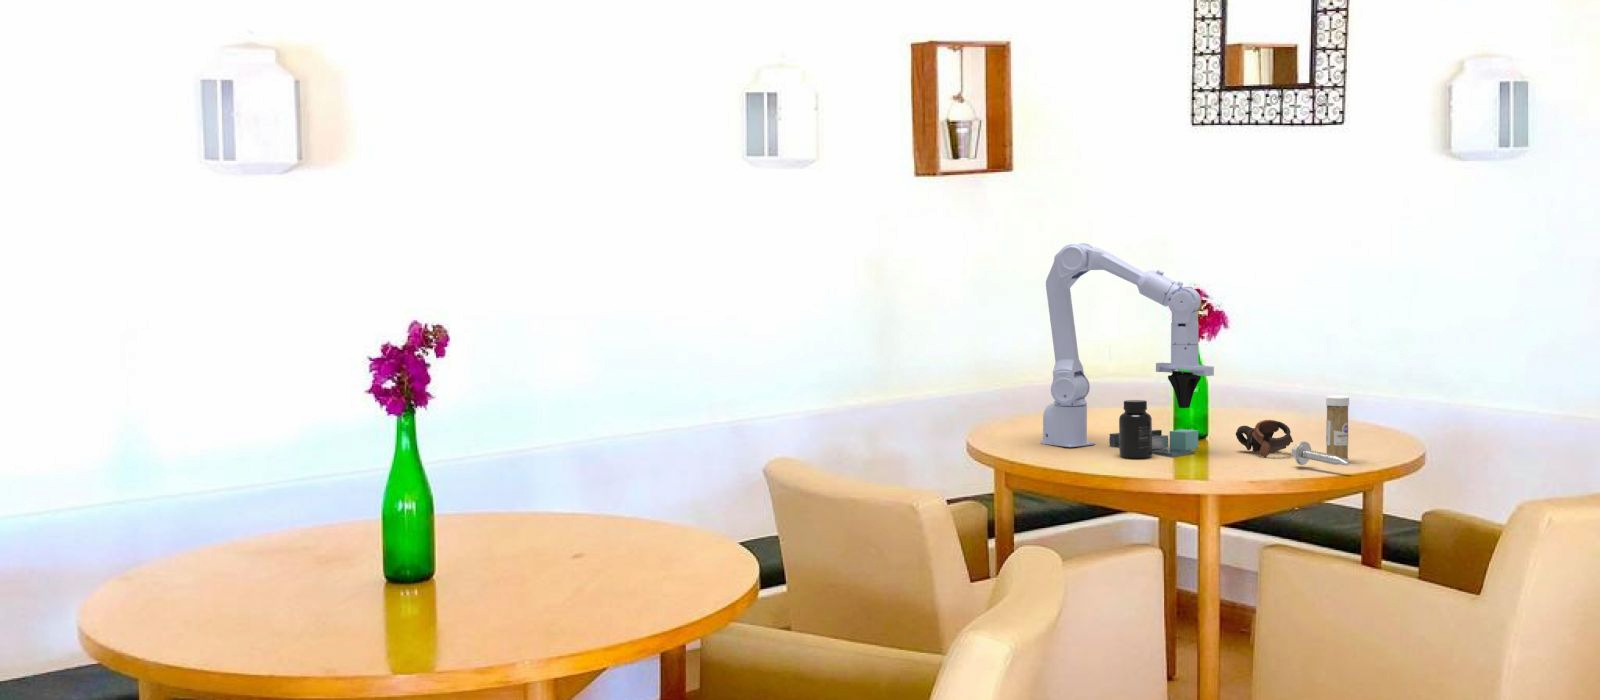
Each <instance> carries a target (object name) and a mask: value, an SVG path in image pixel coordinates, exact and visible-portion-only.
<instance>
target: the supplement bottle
mask: <svg viewBox="0 0 1600 700" xmlns="http://www.w3.org/2000/svg"><path fill="white" fill-rule="evenodd" d="M1147 403H1148V402H1147V400H1143V399H1129V400H1128V399H1127V400H1124V401H1123V407H1122V408H1123V409H1122V410H1123V411H1124V412H1123V413H1121V414H1120V416H1119V418H1118V431H1119V432H1118V433H1119V448H1118V449H1119V456H1120V458H1123V459H1128V460H1129V459H1130V460H1143V459H1150V458H1152V456H1153V454H1152V430H1153V421H1152V420H1153V419H1152V416H1151V415H1150V414H1149V413H1148V412H1147V410H1148V407H1147V406H1148V405H1147Z"/></svg>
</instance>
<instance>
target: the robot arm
mask: <svg viewBox="0 0 1600 700" xmlns="http://www.w3.org/2000/svg"><path fill="white" fill-rule="evenodd" d="M1090 271H1105V272H1108V273H1109V274H1111V275H1113V276H1117V277H1118V278H1120V279H1123V280H1125V281H1127V282H1128V283H1129V282H1130V283H1131V284H1134V285H1135V286H1136V287H1137V289H1138V292H1139V294H1140V295H1142V296H1144V297H1146V298H1148V299H1150V300H1151V301H1154V302H1155V303H1158V304H1160V305H1162V306H1163V307H1165V308H1166V307H1168V309H1169V311H1170V312H1171V323H1170V362H1156V363H1155V373H1170V374H1171V375H1167V380H1168V381H1169V382H1170V385H1171V387H1172V388H1173V391H1174V394H1175V399H1176V401H1177V406H1178V408H1179V409H1189V408H1190V407H1191V403H1192V399H1193V395H1194V393H1195V390H1196V388H1197V386H1198V384H1199V382H1200V381H1201V378H1202V376H1204V377H1212V376H1215V366H1210V365H1204V364H1199V309H1200V307H1201V304H1202V297H1201V295H1200V294H1199V292H1198V291H1197V289H1195V288H1194V287H1192V286H1184V282H1182V281H1180V280H1178V281H1175V280H1173V279H1171V278H1170V277H1168V276H1165V275H1164V271H1161V270H1160V269H1157V270H1153V269H1151V270H1148V271H1145V272H1144V271H1143V270H1141V269H1139V268H1137V267H1135V266H1133V265H1132V264H1130V263H1128V262H1127V261H1124V260H1123V259H1121V258H1119V257H1117V256H1115V255H1114V254H1112V253H1110V252H1109V251H1106V250H1104V249H1101V248H1098V247H1094V246H1092V245H1090V244H1089V243H1078V244H1077V243H1070V244H1066V245H1065V246H1063V247H1062V248H1061V249H1060V250H1059V251H1058V252H1057V253H1056V254H1054V259H1053V263H1052V265H1051V267H1050V270H1049V272H1048V275H1047V277H1046V279H1045V289H1046V297H1047V305H1048V312H1049V320H1050V321H1049V322H1050V329H1051V337H1052V345H1053V346H1052V347H1053V352H1054V353H1053V354H1054V367H1053V370H1052V377H1053V379H1052V383H1051V386H1050V393H1051V396H1052V398H1053V400H1054V401H1053V403H1049V405H1047V406H1046V407H1045V409H1044V411H1043V416H1042V441H1041V440H1040V444H1042V445H1048V446H1049V445H1050V446H1056V447H1064V448H1075V447H1086V446H1094V445H1096V442H1094V441H1088V436H1087V435H1088V422H1087V421H1088V405H1087V404H1088V403H1087V400H1086V397H1087V396H1088V394H1089V393H1090V388H1091V387H1090V382H1089V379H1088V378H1087V376H1086V374H1085V371H1084V366H1083V364H1082V362H1081V360H1080V357H1079V356H1080V355H1079V348H1078V342H1077V341H1078V340H1077V333H1076V327H1075V317H1074V309H1073V303H1072V295H1071V294H1072V293H1071V288H1072V286H1073V285H1075V283H1076V282H1077V281H1078V280H1079V279H1080V277H1082V276H1084V275H1085V274H1087V273H1088V272H1090Z"/></svg>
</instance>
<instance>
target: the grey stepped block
mask: <svg viewBox="0 0 1600 700" xmlns="http://www.w3.org/2000/svg"><path fill="white" fill-rule="evenodd" d="M1162 433H1163V432H1162V429H1152V449H1160V448H1169V434H1167V435H1166V434H1162Z"/></svg>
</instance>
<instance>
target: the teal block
mask: <svg viewBox="0 0 1600 700" xmlns="http://www.w3.org/2000/svg"><path fill="white" fill-rule="evenodd" d="M1169 448H1172V449H1180V450H1188V451H1192V450H1194V449H1199V430H1196V429H1184V428H1182V429H1181V428H1180V429H1175V430H1169Z"/></svg>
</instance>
